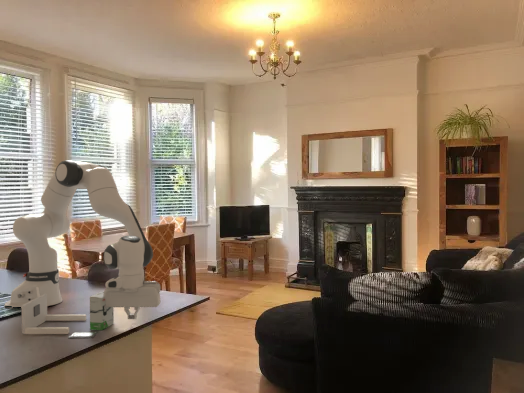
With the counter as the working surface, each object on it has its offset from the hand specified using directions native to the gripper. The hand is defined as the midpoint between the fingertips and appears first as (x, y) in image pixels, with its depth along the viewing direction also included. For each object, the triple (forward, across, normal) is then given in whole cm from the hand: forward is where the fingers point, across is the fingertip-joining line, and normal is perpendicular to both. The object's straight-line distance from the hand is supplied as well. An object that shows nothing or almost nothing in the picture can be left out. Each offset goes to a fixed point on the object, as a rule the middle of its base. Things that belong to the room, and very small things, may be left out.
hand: (132, 318), depth 166 cm
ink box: (+3, +11, 0) cm, 11 cm away
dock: (+3, +28, 0) cm, 28 cm away
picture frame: (+3, +14, +10) cm, 18 cm away
